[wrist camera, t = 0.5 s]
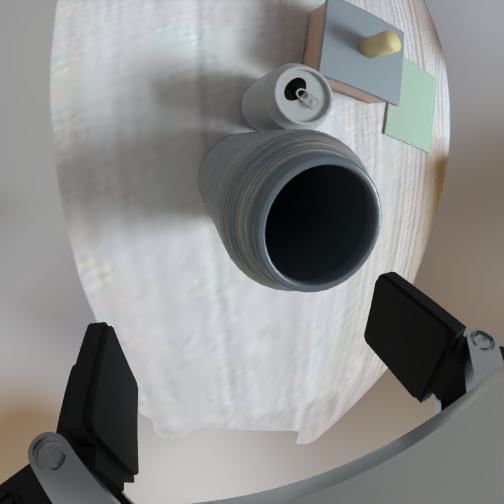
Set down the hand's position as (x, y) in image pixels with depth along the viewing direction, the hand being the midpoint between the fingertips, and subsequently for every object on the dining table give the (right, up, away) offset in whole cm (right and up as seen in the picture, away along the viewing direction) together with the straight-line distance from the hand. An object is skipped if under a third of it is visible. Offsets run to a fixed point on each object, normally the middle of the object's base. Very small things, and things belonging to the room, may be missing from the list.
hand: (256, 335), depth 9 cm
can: (+2, +22, +25) cm, 33 cm away
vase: (-2, +13, +28) cm, 31 cm away
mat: (+28, +29, +29) cm, 50 cm away
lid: (+15, +29, +18) cm, 38 cm away
